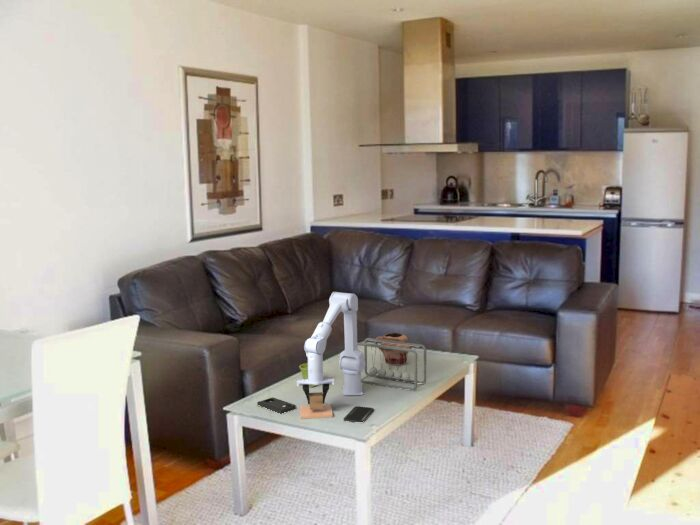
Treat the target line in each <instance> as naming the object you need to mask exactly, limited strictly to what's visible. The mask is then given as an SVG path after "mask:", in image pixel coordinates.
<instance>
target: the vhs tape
mask: <svg viewBox="0 0 700 525" xmlns="http://www.w3.org/2000/svg"><path fill="white" fill-rule="evenodd" d="M258 405H260V406H262V407H265V408H267V409H266V410H268V409H270V410H269V411H271V410H272V411H271V412H274V411H275V412H274V413H276V412H277V414H279V413H280V414H279V415H283V414H285V413H284V412H286V413H288V411H289V412H292V411H294V409H295V410H297V405H295V404H293V403H291V402H289V401H285V400H283V399H279V398H275V397H270V398H267V399H264V400H261V401H257V406H258ZM260 406H259V407H260ZM289 406H290V407H289ZM262 407H261V408H262ZM265 408H264V409H265ZM291 410H292V411H291ZM282 413H283V414H282Z"/></svg>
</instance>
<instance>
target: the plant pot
mask: <svg viewBox="0 0 700 525" xmlns="http://www.w3.org/2000/svg"><path fill="white" fill-rule="evenodd" d="M298 368H299V369H300V371H301V375H302V376H301V377H302V380H303V379H308V362H306V363H303V364H302V363H301V364H300V365H299V366H298ZM317 386H319V385H309V388H314V387H317Z"/></svg>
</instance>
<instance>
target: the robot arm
mask: <svg viewBox="0 0 700 525" xmlns="http://www.w3.org/2000/svg"><path fill="white" fill-rule="evenodd" d="M358 299H359V298H358V296H357V295H356V294H355V293H350V292H349V293H348V292H340V291H339V292H338V291H332V293H331V295H330V296H329V299H328V303H329V307H328V309H327V311H326V314H325V315H324V318H323V321H320V322H319V323H318V324H317V325H316V328H315V329H314V331H313V333H312V335H311V337H309V338H307V339H306V340H305V342H304V345H303V349H304V351H305V354H306V355H305V356H306V357H307V363H308V379H303V378H302V379H297V380H296V387H301V388H302V391H303V392H304V394H305V398H306V399H307V400H306V401H307V405H310V399H309V393H310V387H309V385H318V386H321V387H322V394H323V405H325V400H326V397H327V393H328V392H329V389H330V386H331V385H332V386H335V385H336V384H335V383H336V381H335V378H324V364H323V363H324V360H323V356H324V355H323V354H324V352H325V350H326V347H327V342H328V341H327V340H328V338H329V337H330V334H331V332H332V330H333V328H332V325H333V323H334V322H335V321H336V319H337V317H338V315H339V314H340V313H343V327H344V328H343V329H344V330H343V331H344V350H342V351H341V352H340V354H339V362H338V367H339V368H340V370H341V372H342V373H343V387H342V388H341V389H342V394H343V396H346V397H347V396H363V395H364V392H363V389H362V383H361V379H362V373H363V371H365V360H364V352H362V351H361V350H360V349H359V348H358V345H357V343H358V326H357V325H358V319H357V312H358V311H359V300H358Z"/></svg>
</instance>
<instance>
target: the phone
mask: <svg viewBox="0 0 700 525" xmlns="http://www.w3.org/2000/svg"><path fill="white" fill-rule="evenodd" d="M374 409H375V408H373V407H370V406H369V407H368V406H367V407H366V406H360V405H359V406H358V405H357V406H354V407H353V408H352V409H351V410H350V411H349V413H348V412H347V414H346V415H345V416H344V418H343V421H344V422H346V421H349V422H348V423H355V422H363V421H364V420H365V419H366V418H367V417H368V416H369V415H370V416H371V415H372V414H373V413H374V411H375V410H374ZM370 416H369V417H370ZM369 417H368V418H369ZM368 418H367V419H368ZM367 419H366V420H367ZM366 420H365V421H366ZM365 421H364V422H365ZM364 422H363V423H364Z"/></svg>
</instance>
